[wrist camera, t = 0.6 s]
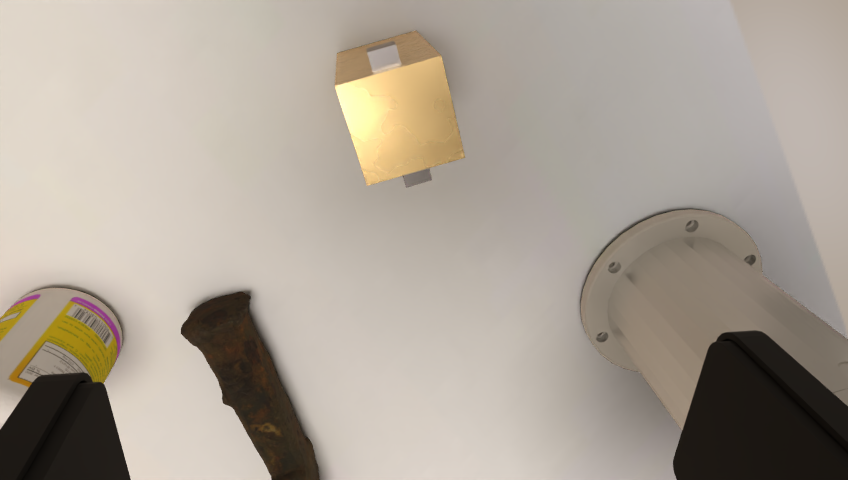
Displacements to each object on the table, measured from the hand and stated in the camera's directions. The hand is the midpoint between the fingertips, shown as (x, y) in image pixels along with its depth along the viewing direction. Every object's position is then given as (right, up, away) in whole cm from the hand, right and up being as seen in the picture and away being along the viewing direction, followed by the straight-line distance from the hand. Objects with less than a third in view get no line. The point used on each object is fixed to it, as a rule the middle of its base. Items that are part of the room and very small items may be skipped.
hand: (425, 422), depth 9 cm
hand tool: (-10, -8, +32) cm, 34 cm away
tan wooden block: (-2, +12, +23) cm, 26 cm away
